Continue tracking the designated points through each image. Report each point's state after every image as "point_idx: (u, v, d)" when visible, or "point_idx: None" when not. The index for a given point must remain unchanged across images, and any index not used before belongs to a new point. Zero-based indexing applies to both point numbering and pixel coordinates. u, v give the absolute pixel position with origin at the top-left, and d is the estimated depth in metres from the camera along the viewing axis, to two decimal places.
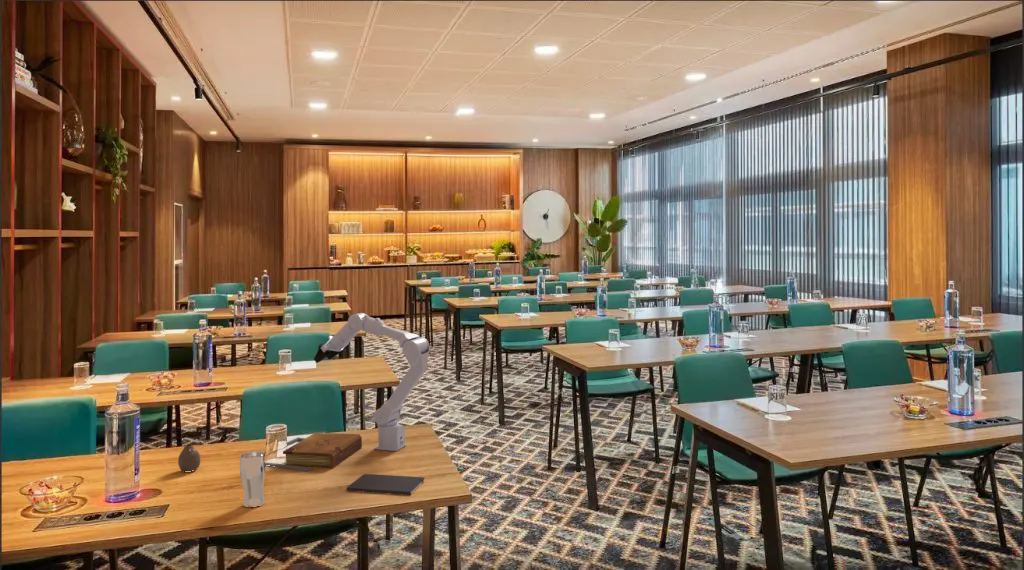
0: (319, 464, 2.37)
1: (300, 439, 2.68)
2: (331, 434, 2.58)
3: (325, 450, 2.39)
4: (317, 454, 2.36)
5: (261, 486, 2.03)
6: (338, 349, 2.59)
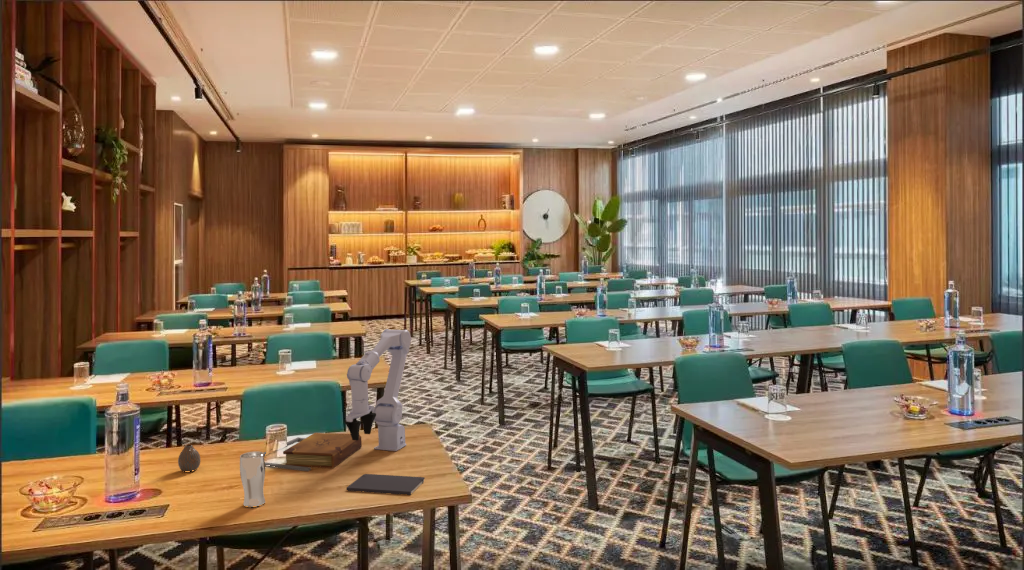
0: (319, 464, 2.37)
1: (300, 439, 2.68)
2: (331, 434, 2.58)
3: (325, 450, 2.39)
4: (317, 454, 2.36)
5: (261, 486, 2.03)
6: (364, 412, 2.39)
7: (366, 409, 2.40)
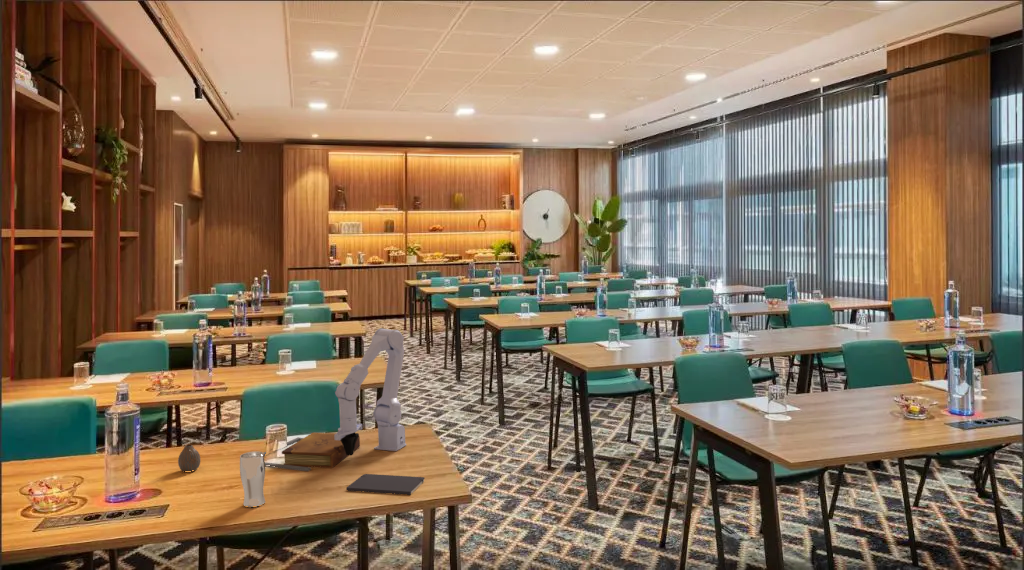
0: (318, 464, 2.37)
1: (300, 439, 2.68)
2: (329, 434, 2.58)
3: (324, 449, 2.39)
4: (316, 454, 2.36)
5: (261, 486, 2.03)
6: (352, 430, 2.41)
7: (354, 427, 2.42)
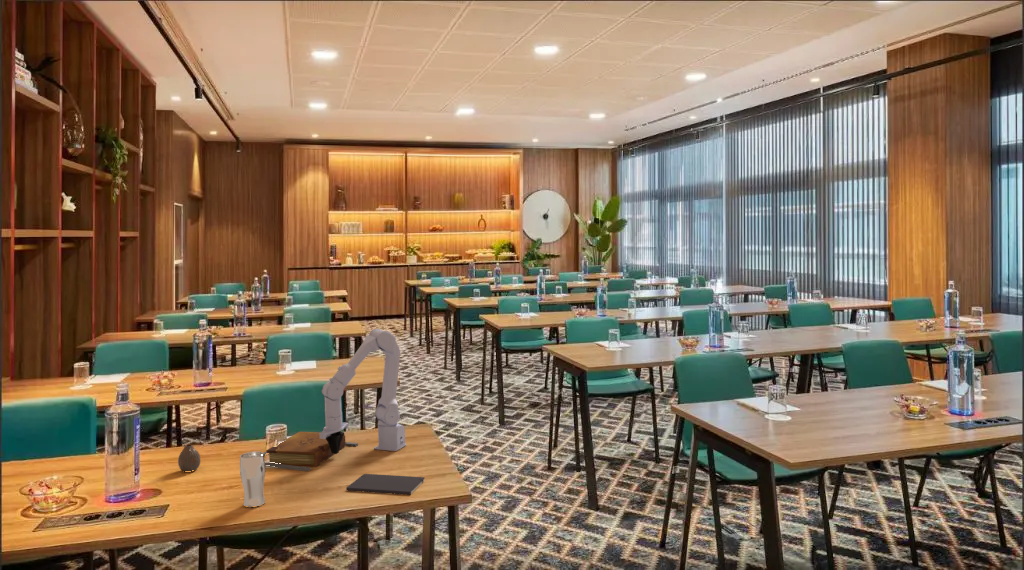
0: (302, 463, 2.39)
1: None
2: (315, 433, 2.59)
3: (308, 448, 2.40)
4: (300, 453, 2.37)
5: (261, 486, 2.03)
6: (337, 429, 2.43)
7: (339, 426, 2.44)
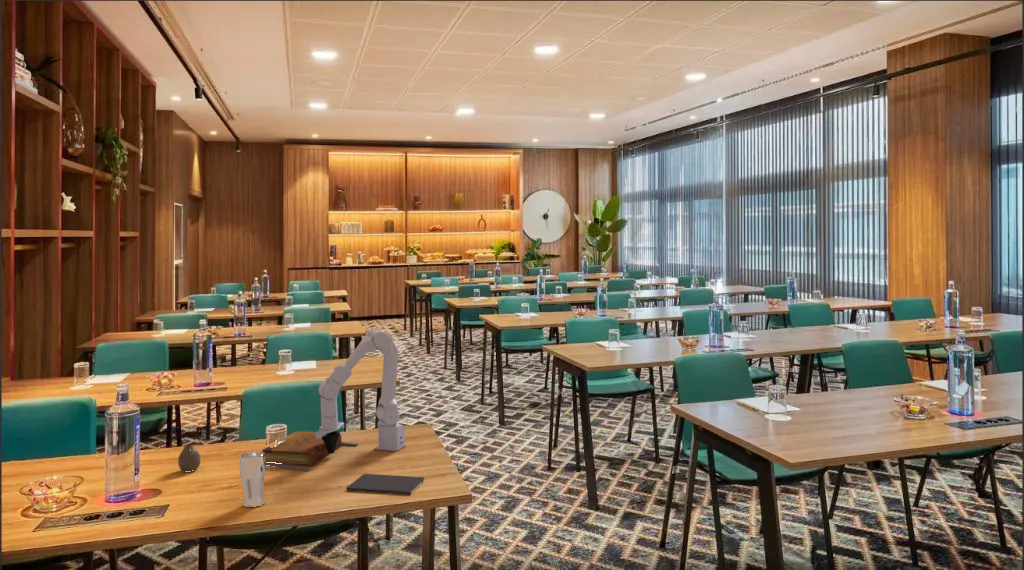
0: (298, 462, 2.39)
1: None
2: (311, 433, 2.60)
3: (304, 448, 2.41)
4: (296, 453, 2.38)
5: (261, 486, 2.03)
6: (333, 428, 2.44)
7: (335, 426, 2.45)
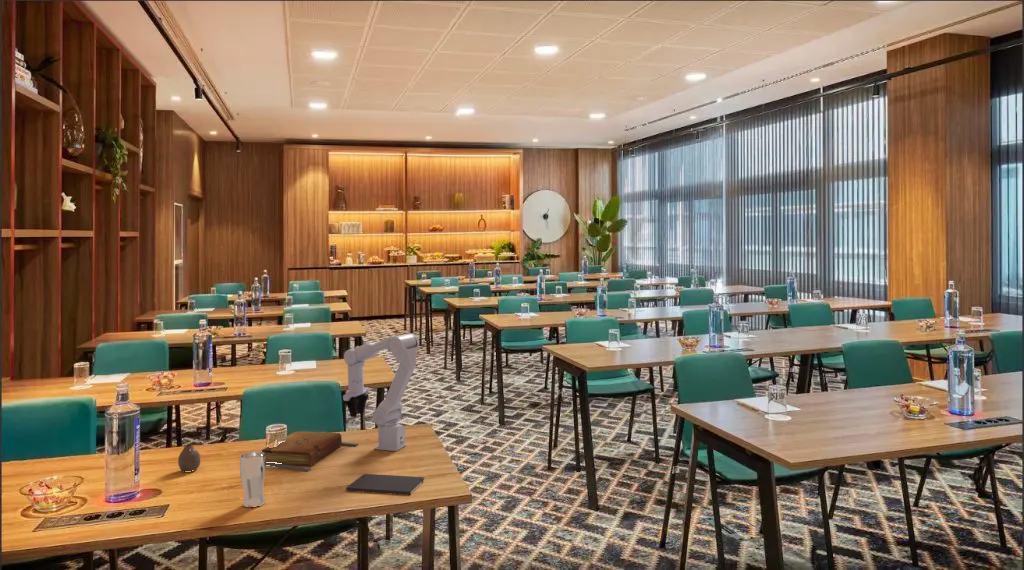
0: (297, 462, 2.39)
1: None
2: (311, 433, 2.60)
3: (303, 448, 2.41)
4: (295, 453, 2.38)
5: (261, 486, 2.03)
6: (359, 392, 2.61)
7: (361, 389, 2.62)
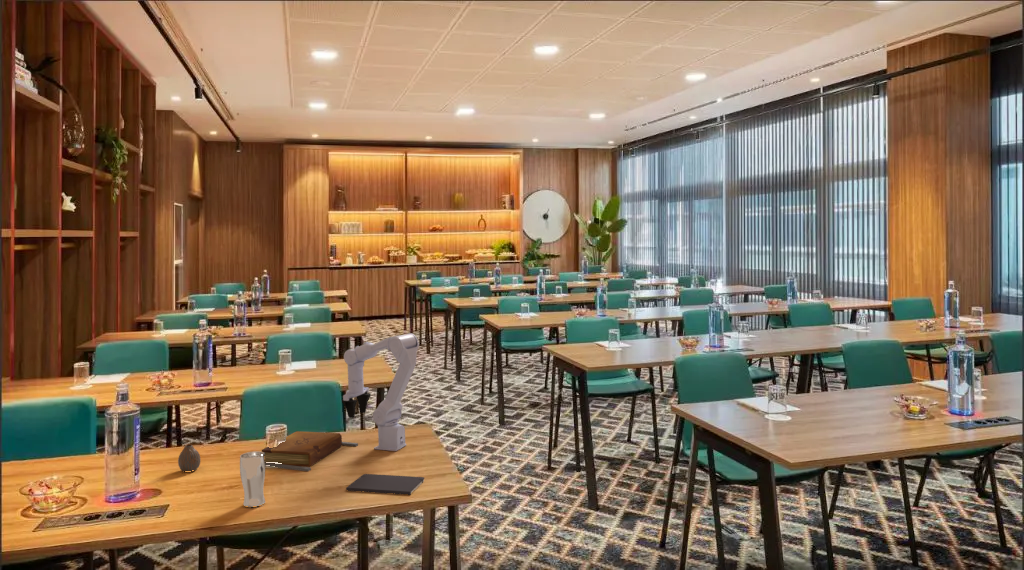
0: (297, 462, 2.39)
1: None
2: (312, 433, 2.60)
3: (303, 448, 2.41)
4: (295, 453, 2.38)
5: (261, 486, 2.03)
6: (359, 392, 2.61)
7: (361, 389, 2.62)
